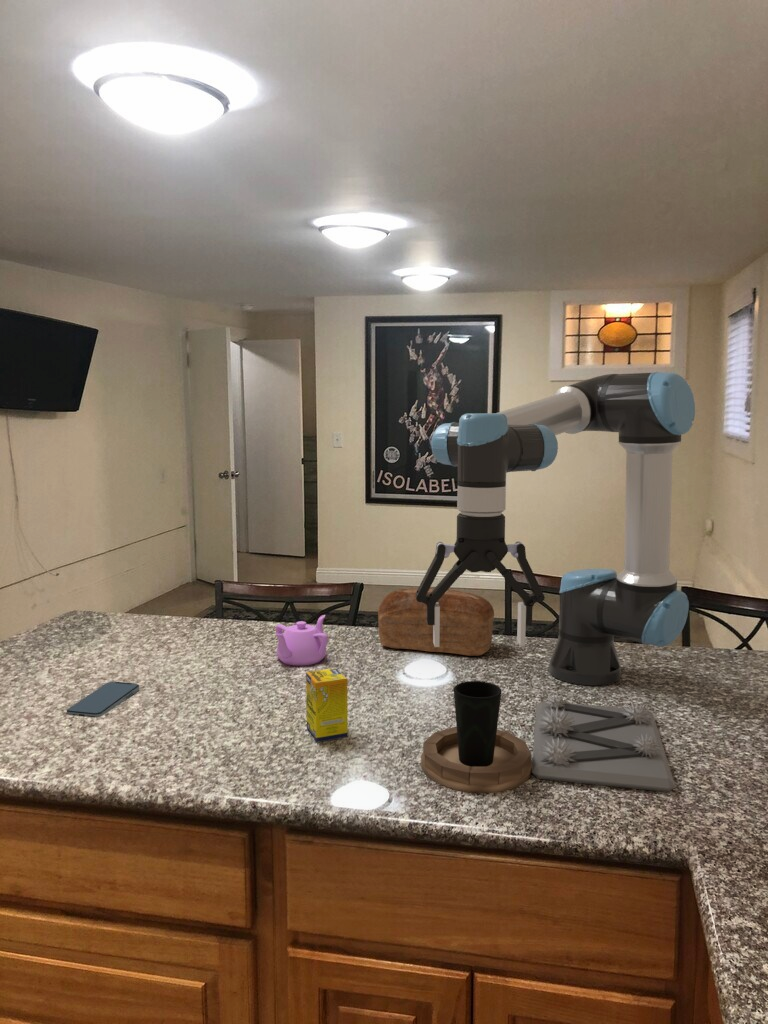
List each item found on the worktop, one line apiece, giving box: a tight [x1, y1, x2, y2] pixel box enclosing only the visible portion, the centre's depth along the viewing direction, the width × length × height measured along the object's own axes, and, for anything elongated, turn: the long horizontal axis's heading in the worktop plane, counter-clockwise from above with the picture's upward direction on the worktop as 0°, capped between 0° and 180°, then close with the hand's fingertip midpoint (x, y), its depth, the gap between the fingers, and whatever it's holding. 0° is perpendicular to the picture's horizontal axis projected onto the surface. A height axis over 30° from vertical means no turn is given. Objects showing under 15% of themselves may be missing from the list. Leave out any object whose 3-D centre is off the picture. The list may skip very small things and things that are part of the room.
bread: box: [377, 587, 495, 657], centre depth 187 cm, size 12×28×14 cm, turn 73°
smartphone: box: [66, 681, 140, 718], centre depth 153 cm, size 8×2×15 cm
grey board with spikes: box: [531, 692, 676, 793], centre depth 133 cm, size 30×22×7 cm
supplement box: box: [305, 667, 349, 743], centre depth 138 cm, size 6×6×11 cm
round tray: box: [420, 726, 533, 794], centre depth 126 cm, size 18×18×3 cm
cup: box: [453, 680, 503, 767], centre depth 126 cm, size 8×8×12 cm
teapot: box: [274, 614, 329, 667], centre depth 178 cm, size 12×14×9 cm
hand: (478, 644), depth 124 cm, fingers open, 13 cm apart
